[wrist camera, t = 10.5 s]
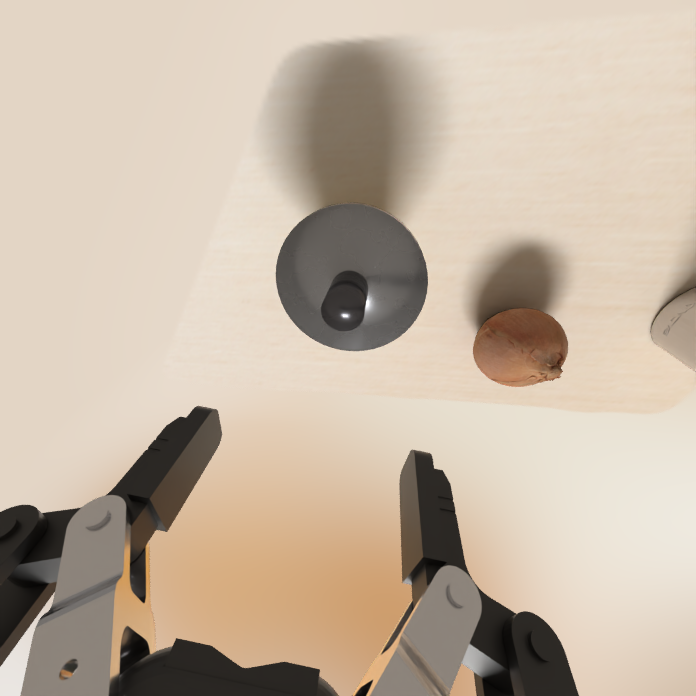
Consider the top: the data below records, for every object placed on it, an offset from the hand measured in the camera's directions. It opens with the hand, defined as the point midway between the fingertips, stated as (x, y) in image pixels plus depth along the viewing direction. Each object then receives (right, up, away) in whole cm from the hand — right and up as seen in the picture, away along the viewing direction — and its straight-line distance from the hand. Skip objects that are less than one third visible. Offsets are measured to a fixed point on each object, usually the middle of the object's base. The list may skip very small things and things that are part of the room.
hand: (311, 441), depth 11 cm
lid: (+2, +10, +13) cm, 16 cm away
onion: (+22, +6, +25) cm, 33 cm away
